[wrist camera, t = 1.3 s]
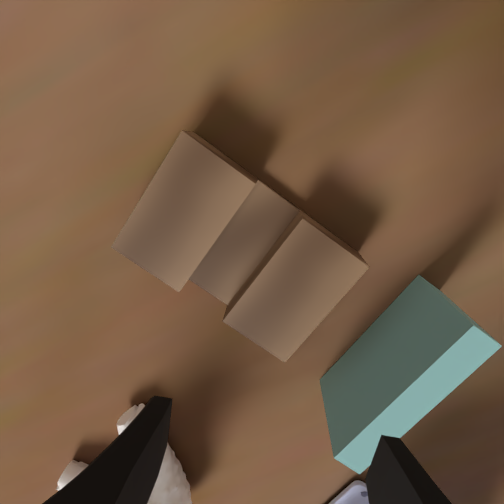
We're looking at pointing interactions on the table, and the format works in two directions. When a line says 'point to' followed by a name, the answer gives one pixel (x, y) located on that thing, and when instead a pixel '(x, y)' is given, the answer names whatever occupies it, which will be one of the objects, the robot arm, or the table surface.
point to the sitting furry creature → (169, 479)
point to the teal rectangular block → (400, 371)
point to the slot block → (238, 246)
